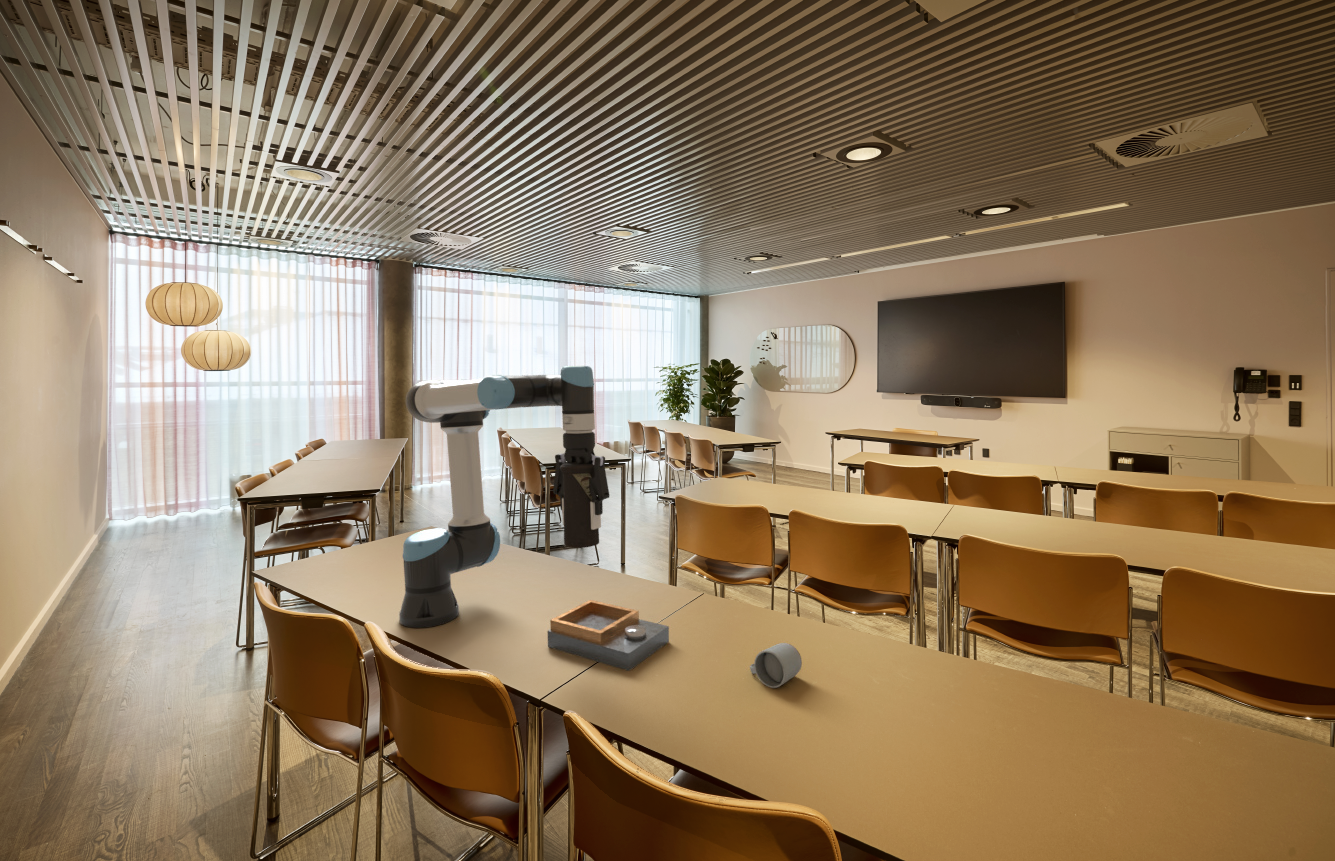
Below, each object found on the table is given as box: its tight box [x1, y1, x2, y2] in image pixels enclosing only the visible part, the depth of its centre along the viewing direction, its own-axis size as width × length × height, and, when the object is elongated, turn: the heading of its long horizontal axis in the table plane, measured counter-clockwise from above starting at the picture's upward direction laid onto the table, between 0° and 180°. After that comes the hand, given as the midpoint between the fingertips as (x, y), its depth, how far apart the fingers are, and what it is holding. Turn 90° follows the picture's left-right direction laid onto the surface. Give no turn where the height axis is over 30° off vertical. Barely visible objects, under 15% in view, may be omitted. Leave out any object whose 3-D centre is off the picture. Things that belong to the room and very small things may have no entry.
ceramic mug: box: [749, 642, 803, 689], centre depth 131 cm, size 11×8×8 cm
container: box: [560, 461, 600, 549], centre depth 145 cm, size 9×9×20 cm
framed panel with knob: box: [546, 599, 670, 672], centre depth 148 cm, size 24×17×6 cm
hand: (581, 525), depth 145 cm, fingers closed on container, 8 cm apart
